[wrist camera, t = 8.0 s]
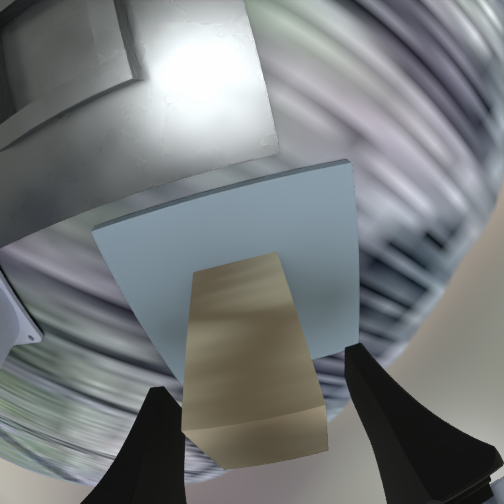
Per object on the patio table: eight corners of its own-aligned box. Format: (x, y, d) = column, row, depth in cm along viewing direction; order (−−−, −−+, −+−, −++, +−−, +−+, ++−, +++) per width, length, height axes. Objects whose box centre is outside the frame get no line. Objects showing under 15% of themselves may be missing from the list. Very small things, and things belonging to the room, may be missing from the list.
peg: (218, 330, 16) (224, 469, 9) (193, 272, 14) (181, 431, 7) (289, 313, 16) (328, 450, 9) (276, 251, 14) (325, 404, 7)
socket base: (0, 245, 13) (-19, 264, 11) (-56, 18, 4) (-77, 18, 3) (277, 150, 12) (288, 161, 10) (198, -125, 4) (197, -146, 2)
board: (182, 379, 19) (182, 386, 18) (95, 226, 13) (90, 231, 12) (355, 339, 19) (358, 346, 18) (346, 159, 12) (352, 162, 12)
